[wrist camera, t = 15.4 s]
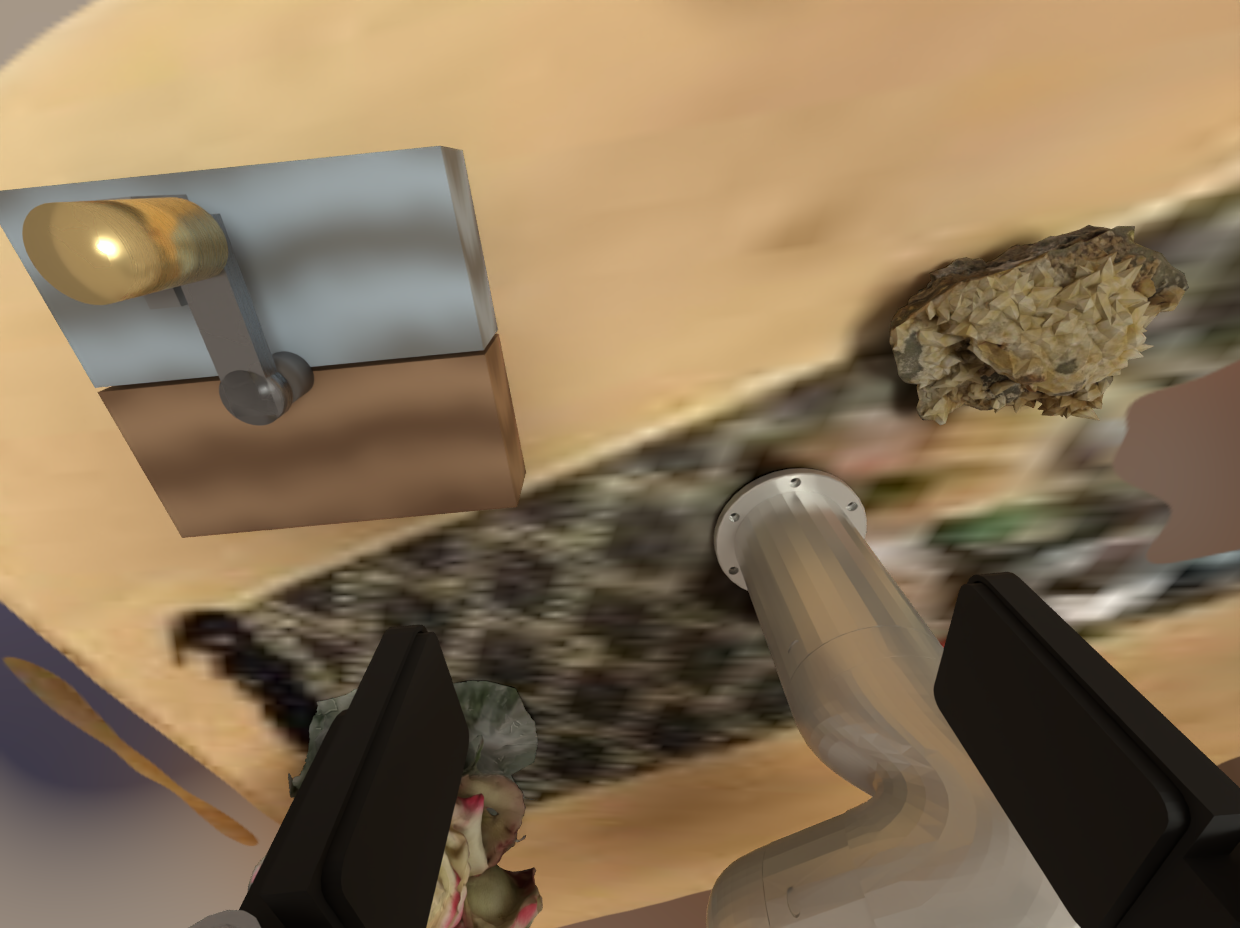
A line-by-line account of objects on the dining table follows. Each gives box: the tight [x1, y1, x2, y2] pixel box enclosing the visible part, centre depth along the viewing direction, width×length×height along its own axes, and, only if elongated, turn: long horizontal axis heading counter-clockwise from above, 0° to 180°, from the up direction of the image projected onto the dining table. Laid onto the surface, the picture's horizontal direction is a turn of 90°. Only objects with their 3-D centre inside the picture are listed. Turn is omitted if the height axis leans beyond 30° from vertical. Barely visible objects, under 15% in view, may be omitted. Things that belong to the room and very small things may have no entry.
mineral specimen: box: [889, 225, 1189, 425], centre depth 34 cm, size 14×13×10 cm
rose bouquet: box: [248, 681, 543, 928], centre depth 44 cm, size 26×29×30 cm
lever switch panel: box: [0, 146, 526, 538], centre depth 33 cm, size 22×24×9 cm
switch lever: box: [22, 197, 293, 426], centre depth 25 cm, size 11×4×7 cm, turn 3°
